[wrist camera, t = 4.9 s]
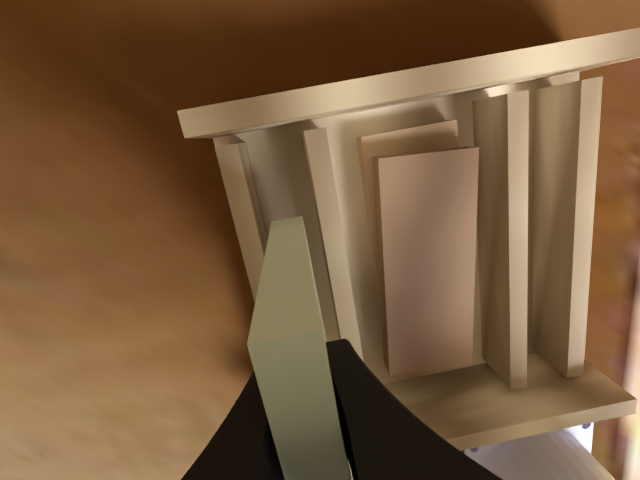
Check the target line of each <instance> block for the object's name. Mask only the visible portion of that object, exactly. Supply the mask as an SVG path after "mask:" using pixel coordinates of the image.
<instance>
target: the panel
mask: <svg viewBox="0 0 640 480" xmlns="http://www.w3.org/2000/svg"><path fill="white" fill-rule="evenodd" d="M326 342H327V340H326V335H325V330H324V325H323V319H322V314H321V309H320V304H319V299H318V294H317V288H316V283H315V278H314V273H313V268H312V263H311V258H310V252H309V247H308V242H307V237H306V232H305V227H304V221H303V216H298V217H293V218H287V219H282V220H277V221H272V222H271V227H270V232H269V237H268V242H267V247H266V252H265V257H264V262H263V267H262V272H261V277H260V282H259V287H258V292H257V297H256V302H255V307H254V312H253V317H252V322H251V327H250V332H249V337H248V342H247V347H248V350H249V354H250V358H251V361H252V365H253V368H254V372H255V375H256V379H257V383H258V386H259V390H260V393H261V397H262V400H263V404H264V407H265V411H266V415H267V418H268V422H269V425H270V429H271V432H272V436H273V440H274V443H275V447H276V450H277V454H278V457H279V461H280V465H281V468H282V472H283V475H284V479H285V480H352V475H351V470H350V465H349V461H348V457H347V452H346V447H345V442H344V437H343V432H342V427H341V422H340V417H339V412H338V406H337V401H336V396H335V391H334V386H333V381H332V376H331V371H330V365H329V359H328V353H327V347H326Z"/></svg>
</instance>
